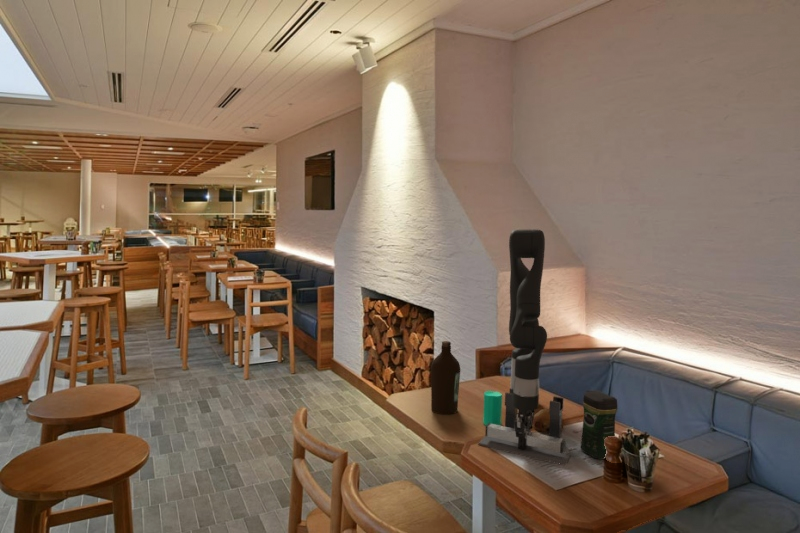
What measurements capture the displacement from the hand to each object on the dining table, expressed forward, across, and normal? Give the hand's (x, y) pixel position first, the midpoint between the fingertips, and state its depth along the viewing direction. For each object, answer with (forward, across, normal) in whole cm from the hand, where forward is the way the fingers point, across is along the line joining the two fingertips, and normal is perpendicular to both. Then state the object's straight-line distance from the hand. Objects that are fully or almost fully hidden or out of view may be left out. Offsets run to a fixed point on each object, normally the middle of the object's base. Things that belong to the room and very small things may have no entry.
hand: (523, 446), depth 157 cm
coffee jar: (+1, -10, +20) cm, 22 cm away
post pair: (+1, -10, 0) cm, 10 cm away
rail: (-1, 0, 0) cm, 1 cm away
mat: (+1, 0, 0) cm, 1 cm away
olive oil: (+1, -18, -34) cm, 38 cm away
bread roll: (+1, -21, +2) cm, 21 cm away
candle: (+1, -15, -15) cm, 21 cm away
